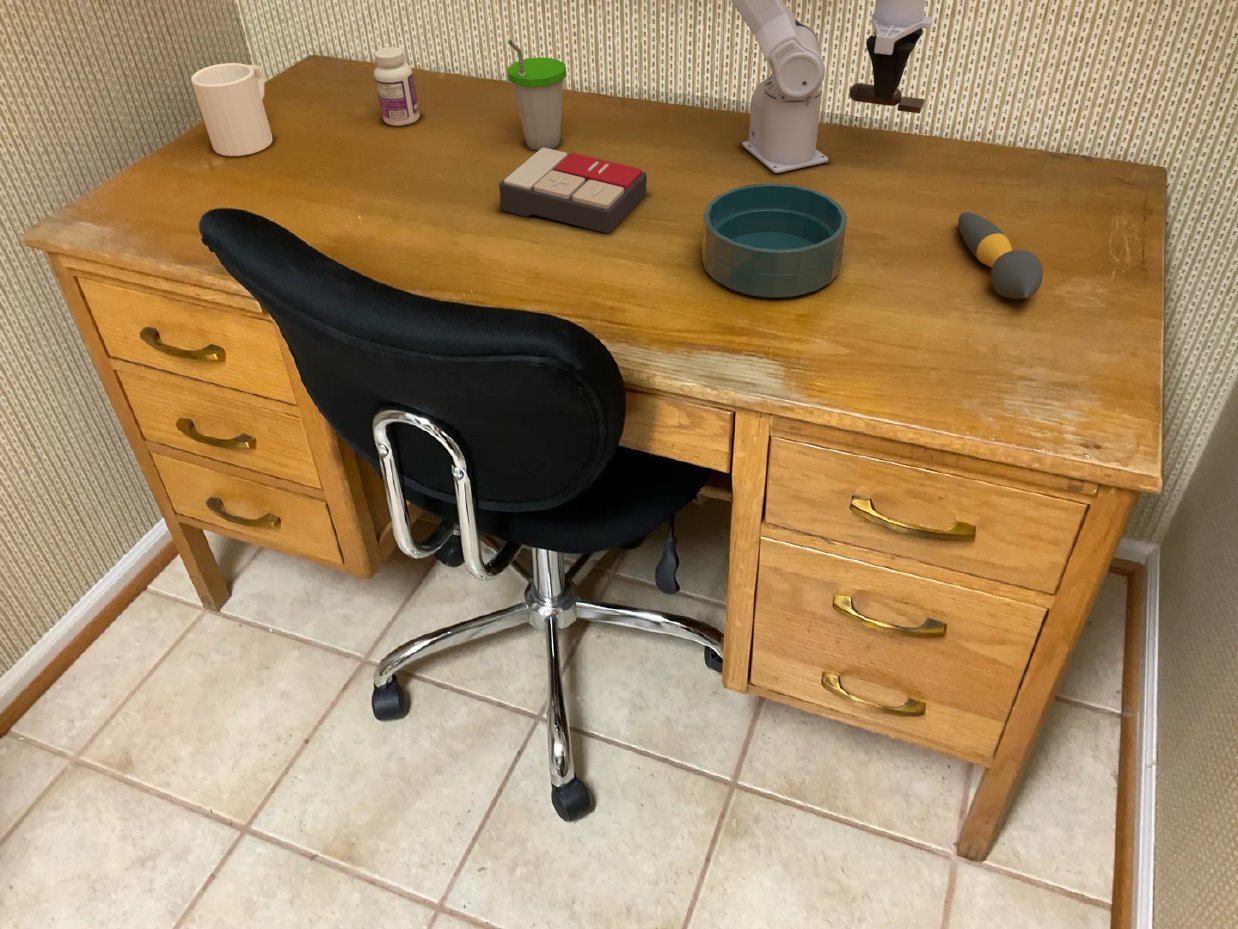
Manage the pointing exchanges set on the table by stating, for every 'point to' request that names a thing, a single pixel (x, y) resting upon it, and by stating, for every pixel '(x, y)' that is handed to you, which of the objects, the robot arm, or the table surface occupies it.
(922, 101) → the brush
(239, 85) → the mug
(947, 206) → the table surface
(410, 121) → the pill bottle
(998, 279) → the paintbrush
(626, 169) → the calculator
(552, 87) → the cup
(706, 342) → the table surface
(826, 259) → the bowl
